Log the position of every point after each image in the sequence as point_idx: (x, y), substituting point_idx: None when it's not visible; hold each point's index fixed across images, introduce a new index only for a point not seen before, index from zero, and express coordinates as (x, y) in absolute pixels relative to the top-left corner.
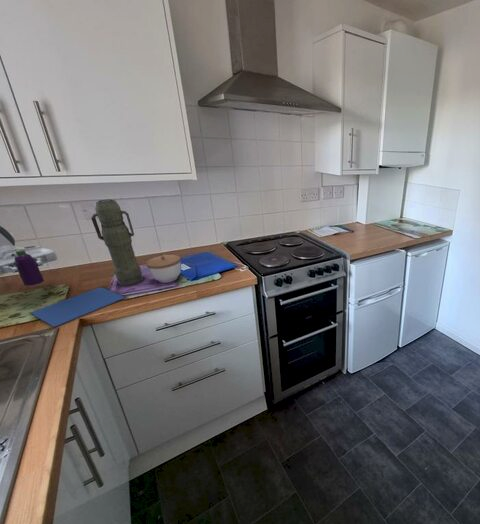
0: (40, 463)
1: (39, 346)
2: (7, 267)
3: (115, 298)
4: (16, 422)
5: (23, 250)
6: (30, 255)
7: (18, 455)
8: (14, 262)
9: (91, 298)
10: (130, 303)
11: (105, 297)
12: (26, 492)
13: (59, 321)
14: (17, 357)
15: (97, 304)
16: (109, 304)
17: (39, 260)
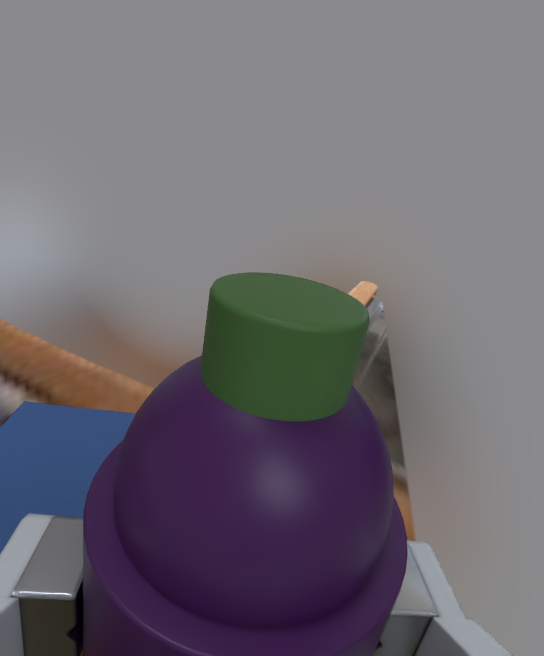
0: (360, 290)
1: None
2: (503, 648)
3: (41, 421)
4: (375, 316)
5: (234, 279)
6: (149, 397)
7: (373, 300)
8: (393, 501)
9: (54, 507)
10: (70, 372)
11: (35, 459)
12: (369, 287)
13: None
14: (375, 396)
15: (110, 437)
16: (95, 411)
17: (12, 556)
